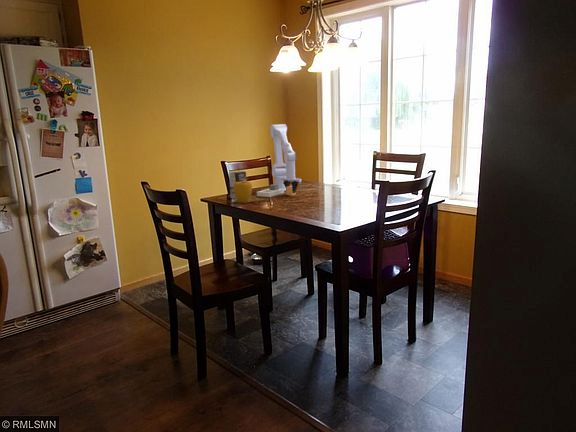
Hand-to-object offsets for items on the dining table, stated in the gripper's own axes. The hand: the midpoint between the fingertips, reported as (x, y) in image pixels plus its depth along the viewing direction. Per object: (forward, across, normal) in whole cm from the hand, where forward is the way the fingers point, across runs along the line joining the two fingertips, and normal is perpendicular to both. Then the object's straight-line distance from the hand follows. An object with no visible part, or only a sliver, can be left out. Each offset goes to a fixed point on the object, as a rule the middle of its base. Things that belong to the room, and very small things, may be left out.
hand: (291, 192), depth 274 cm
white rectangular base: (+1, -12, -6) cm, 13 cm away
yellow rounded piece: (+2, -14, -31) cm, 34 cm away
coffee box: (+2, -26, -21) cm, 33 cm away
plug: (+1, 0, 0) cm, 1 cm away
